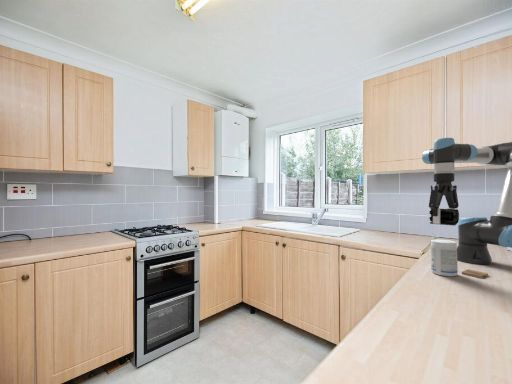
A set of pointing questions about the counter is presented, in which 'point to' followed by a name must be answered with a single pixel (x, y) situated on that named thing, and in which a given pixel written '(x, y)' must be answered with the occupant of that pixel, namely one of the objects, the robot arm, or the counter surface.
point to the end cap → (447, 216)
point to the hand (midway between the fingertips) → (443, 223)
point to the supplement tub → (444, 257)
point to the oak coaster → (475, 273)
